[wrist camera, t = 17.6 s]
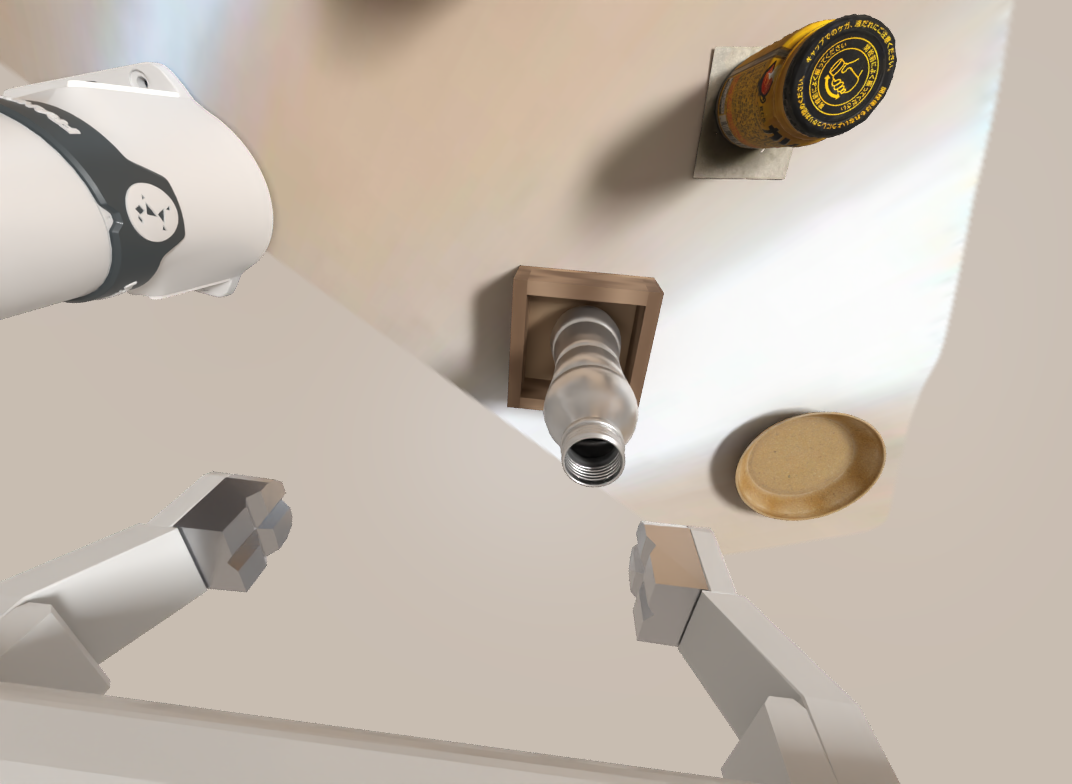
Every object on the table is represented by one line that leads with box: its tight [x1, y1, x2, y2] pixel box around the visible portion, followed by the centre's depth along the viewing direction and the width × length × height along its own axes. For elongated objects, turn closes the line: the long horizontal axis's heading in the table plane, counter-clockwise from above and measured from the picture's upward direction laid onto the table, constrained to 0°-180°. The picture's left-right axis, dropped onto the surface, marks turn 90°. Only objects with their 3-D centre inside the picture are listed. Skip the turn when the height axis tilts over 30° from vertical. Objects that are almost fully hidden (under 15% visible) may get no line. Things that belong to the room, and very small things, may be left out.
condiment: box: [693, 14, 897, 179], centre depth 28 cm, size 7×8×12 cm
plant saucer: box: [735, 412, 886, 521], centre depth 46 cm, size 15×15×3 cm
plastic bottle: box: [543, 305, 638, 487], centre depth 33 cm, size 6×7×20 cm
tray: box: [507, 265, 664, 410], centre depth 40 cm, size 12×12×5 cm
